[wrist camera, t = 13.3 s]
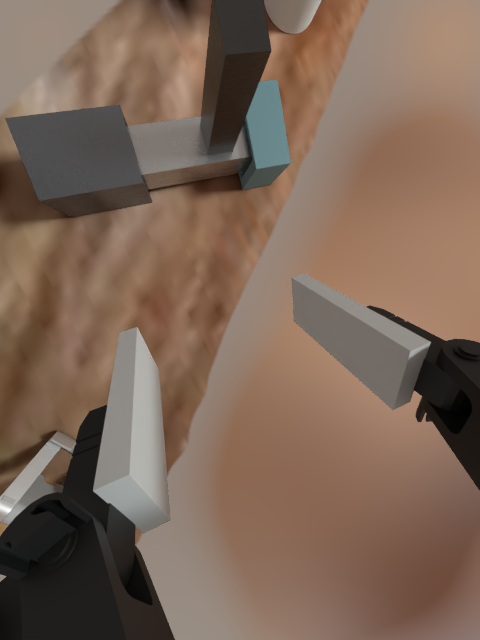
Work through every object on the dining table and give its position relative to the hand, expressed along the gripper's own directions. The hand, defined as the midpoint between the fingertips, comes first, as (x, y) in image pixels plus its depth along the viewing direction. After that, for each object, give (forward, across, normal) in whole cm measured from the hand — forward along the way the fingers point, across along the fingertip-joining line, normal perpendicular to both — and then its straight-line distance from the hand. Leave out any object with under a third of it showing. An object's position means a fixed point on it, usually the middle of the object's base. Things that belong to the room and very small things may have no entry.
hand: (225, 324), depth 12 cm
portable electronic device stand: (+18, -26, -26) cm, 41 cm away
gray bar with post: (+26, +5, +8) cm, 28 cm away
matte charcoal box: (+28, -6, +8) cm, 30 cm away
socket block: (+27, +14, +8) cm, 31 cm away
